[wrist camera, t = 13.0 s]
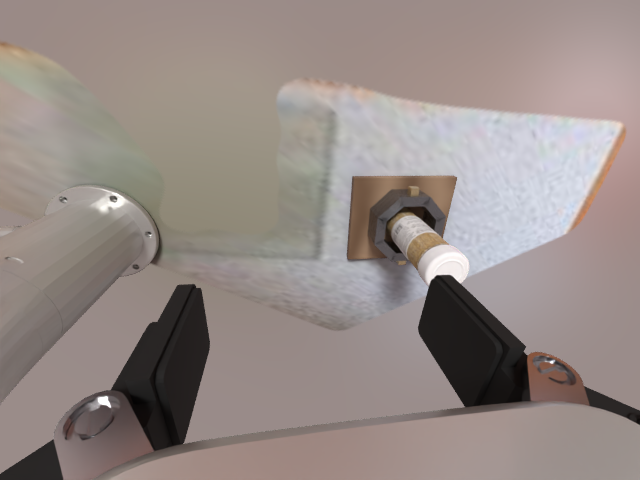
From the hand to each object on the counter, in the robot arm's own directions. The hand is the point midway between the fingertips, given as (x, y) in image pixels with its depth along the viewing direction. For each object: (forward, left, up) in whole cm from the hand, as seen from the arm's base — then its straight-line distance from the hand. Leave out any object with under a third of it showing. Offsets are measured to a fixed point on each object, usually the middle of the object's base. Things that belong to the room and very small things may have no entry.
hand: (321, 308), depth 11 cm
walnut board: (+14, -7, -27) cm, 31 cm away
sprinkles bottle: (+14, -7, -26) cm, 30 cm away
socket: (+14, -7, -27) cm, 31 cm away
